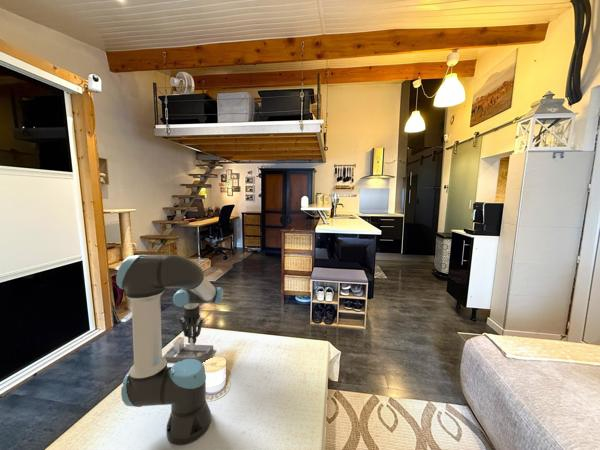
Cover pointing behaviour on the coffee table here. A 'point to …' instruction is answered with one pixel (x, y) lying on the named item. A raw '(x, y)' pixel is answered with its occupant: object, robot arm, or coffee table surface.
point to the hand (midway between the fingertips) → (192, 348)
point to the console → (189, 353)
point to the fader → (178, 344)
